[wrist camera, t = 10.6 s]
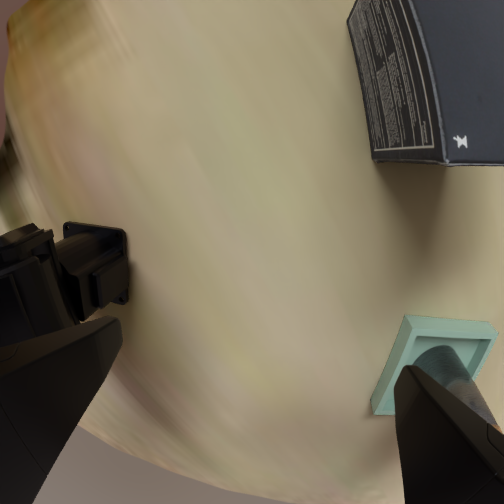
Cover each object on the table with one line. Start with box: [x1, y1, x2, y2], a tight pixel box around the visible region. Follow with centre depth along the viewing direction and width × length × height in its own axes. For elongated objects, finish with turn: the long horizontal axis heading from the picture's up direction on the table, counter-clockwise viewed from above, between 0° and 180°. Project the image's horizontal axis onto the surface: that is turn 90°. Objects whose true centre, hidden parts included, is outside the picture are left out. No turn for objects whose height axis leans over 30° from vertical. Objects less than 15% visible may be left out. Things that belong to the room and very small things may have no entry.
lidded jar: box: [412, 345, 503, 434], centre depth 16 cm, size 5×5×12 cm
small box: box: [347, 0, 504, 167], centre depth 11 cm, size 11×6×10 cm, turn 8°
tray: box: [370, 315, 499, 415], centre depth 21 cm, size 9×9×2 cm
